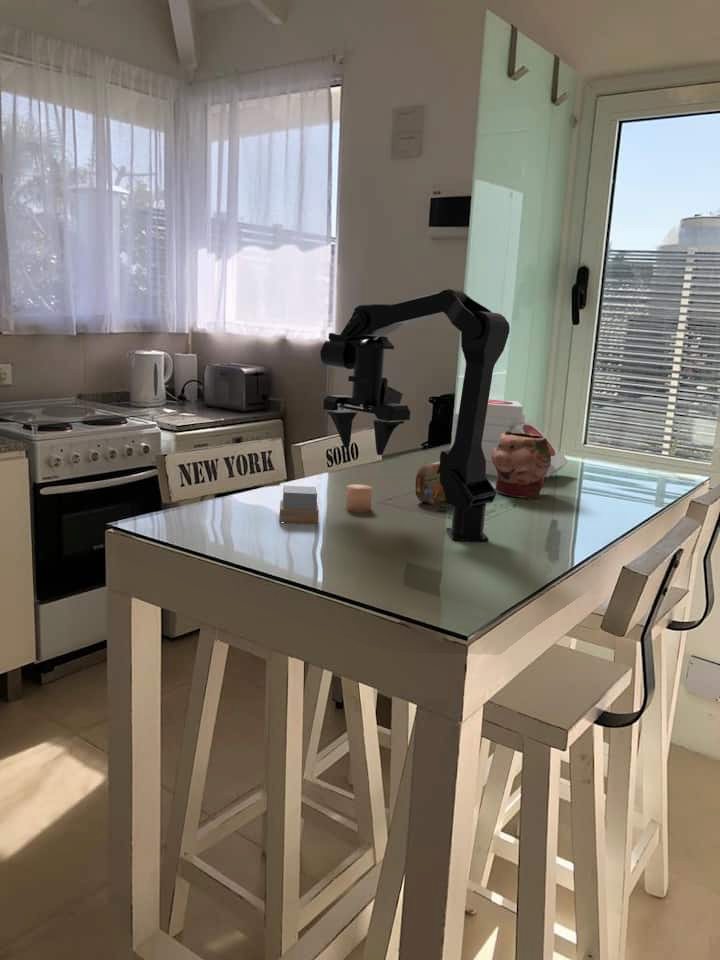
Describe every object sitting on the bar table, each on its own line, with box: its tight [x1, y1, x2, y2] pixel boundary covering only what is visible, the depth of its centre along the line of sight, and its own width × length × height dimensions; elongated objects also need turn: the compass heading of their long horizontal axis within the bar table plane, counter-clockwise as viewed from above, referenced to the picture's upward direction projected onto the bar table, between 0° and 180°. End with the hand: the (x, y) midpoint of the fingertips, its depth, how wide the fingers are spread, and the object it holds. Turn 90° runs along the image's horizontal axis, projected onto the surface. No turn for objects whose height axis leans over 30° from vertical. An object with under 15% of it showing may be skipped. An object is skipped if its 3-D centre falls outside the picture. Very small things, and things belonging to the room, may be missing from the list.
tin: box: [415, 461, 446, 505], centre depth 170 cm, size 15×3×8 cm, turn 143°
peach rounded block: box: [345, 483, 373, 513], centre depth 158 cm, size 5×5×4 cm
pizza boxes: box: [451, 398, 570, 478], centre depth 209 cm, size 19×30×18 cm, turn 63°
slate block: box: [282, 485, 318, 510], centre depth 147 cm, size 6×6×3 cm
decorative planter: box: [491, 431, 551, 499], centre depth 183 cm, size 20×12×14 cm, turn 142°
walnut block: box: [279, 499, 320, 526], centre depth 147 cm, size 7×7×3 cm
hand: (362, 451), depth 156 cm, fingers open, 9 cm apart
